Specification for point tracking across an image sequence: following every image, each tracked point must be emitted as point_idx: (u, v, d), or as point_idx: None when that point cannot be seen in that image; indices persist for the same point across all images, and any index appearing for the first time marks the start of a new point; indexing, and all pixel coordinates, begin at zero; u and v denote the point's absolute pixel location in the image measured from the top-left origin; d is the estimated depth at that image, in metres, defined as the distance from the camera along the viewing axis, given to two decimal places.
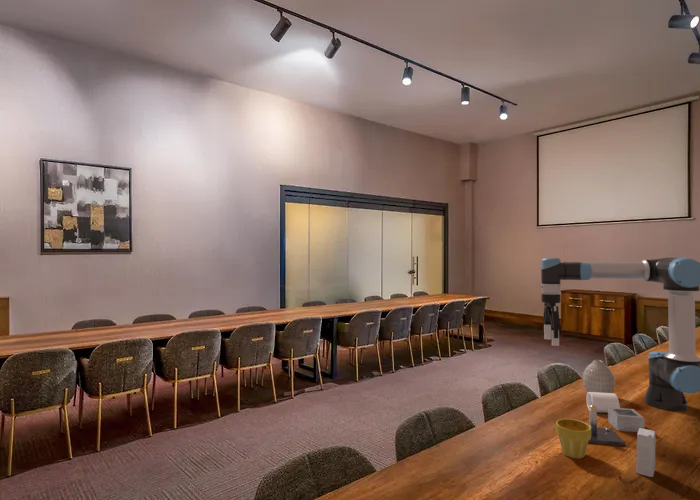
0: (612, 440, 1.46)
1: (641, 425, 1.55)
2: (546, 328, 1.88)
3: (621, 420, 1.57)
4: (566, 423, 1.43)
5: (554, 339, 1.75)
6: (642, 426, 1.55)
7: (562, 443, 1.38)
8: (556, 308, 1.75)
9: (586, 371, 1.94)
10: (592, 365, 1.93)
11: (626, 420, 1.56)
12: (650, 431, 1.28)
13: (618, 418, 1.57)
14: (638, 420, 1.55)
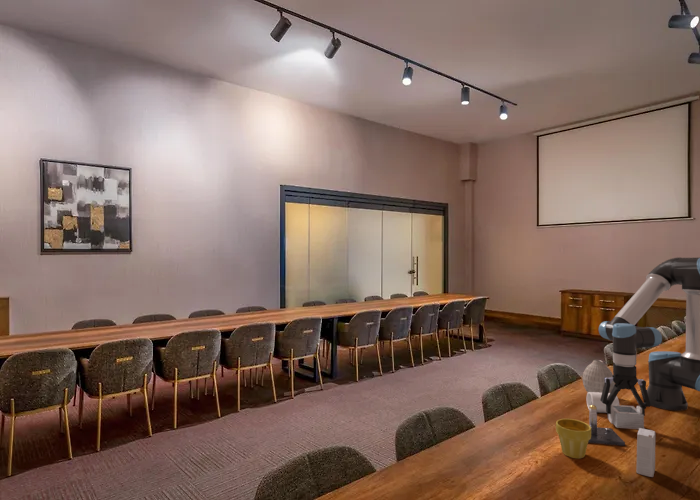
0: (612, 440, 1.46)
1: (641, 422, 1.55)
2: None
3: (621, 417, 1.57)
4: (566, 423, 1.43)
5: (609, 414, 1.62)
6: (642, 423, 1.55)
7: (562, 443, 1.38)
8: (605, 380, 1.61)
9: (586, 371, 1.94)
10: (592, 365, 1.93)
11: (626, 417, 1.56)
12: (650, 431, 1.28)
13: (618, 415, 1.57)
14: (638, 417, 1.55)
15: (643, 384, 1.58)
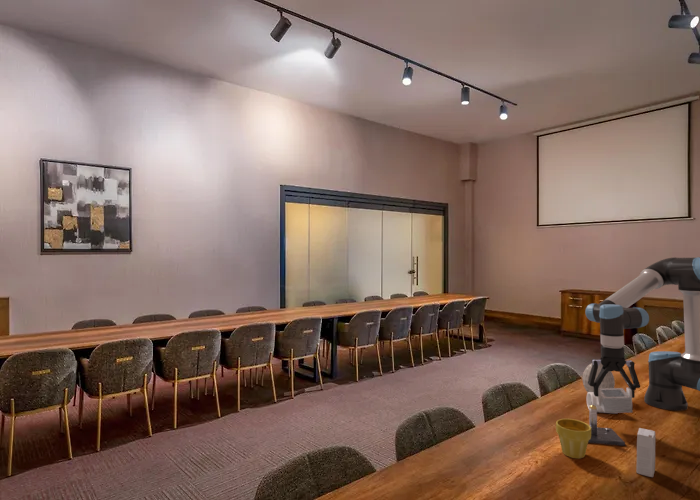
0: (612, 440, 1.46)
1: (629, 405, 1.52)
2: (627, 392, 1.57)
3: (608, 402, 1.54)
4: (566, 423, 1.43)
5: (597, 397, 1.59)
6: (630, 406, 1.52)
7: (562, 443, 1.38)
8: (593, 362, 1.58)
9: (586, 371, 1.94)
10: None
11: (613, 402, 1.53)
12: (650, 431, 1.28)
13: (604, 400, 1.54)
14: (625, 401, 1.52)
15: (631, 365, 1.55)
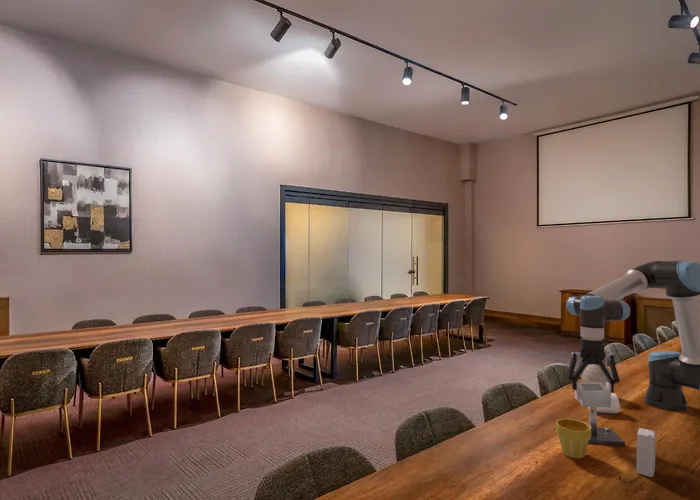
0: (612, 440, 1.46)
1: (607, 399, 1.47)
2: (606, 387, 1.52)
3: (586, 396, 1.49)
4: (566, 423, 1.43)
5: (575, 391, 1.54)
6: (608, 400, 1.47)
7: (562, 443, 1.38)
8: (572, 355, 1.53)
9: (586, 371, 1.94)
10: (592, 365, 1.93)
11: (591, 395, 1.48)
12: (650, 431, 1.28)
13: (582, 394, 1.49)
14: (603, 395, 1.47)
15: (611, 359, 1.50)
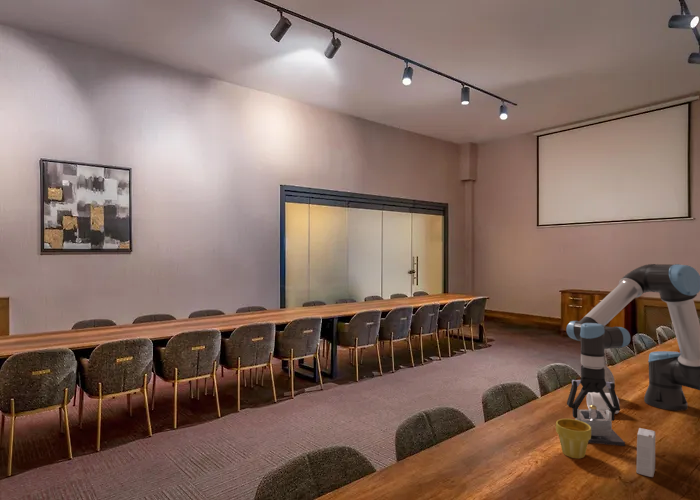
0: (612, 440, 1.46)
1: (608, 428, 1.47)
2: (607, 415, 1.51)
3: None
4: (566, 423, 1.43)
5: (576, 419, 1.54)
6: (609, 429, 1.47)
7: (562, 443, 1.38)
8: (572, 383, 1.53)
9: None
10: None
11: (591, 424, 1.48)
12: (650, 431, 1.28)
13: None
14: (604, 423, 1.47)
15: (612, 387, 1.50)
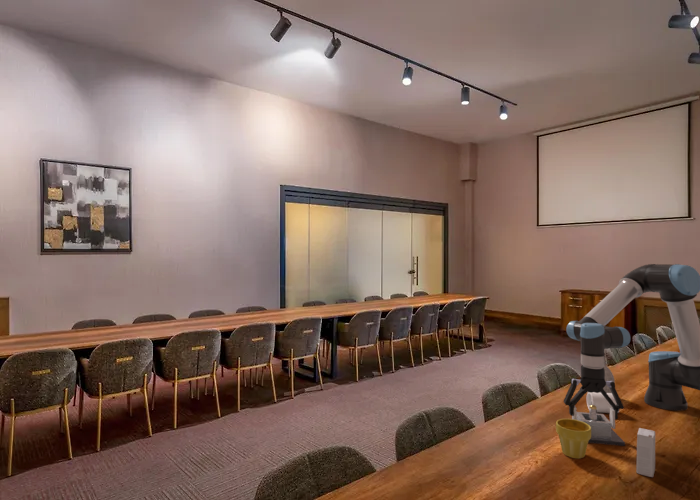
0: (612, 440, 1.46)
1: (608, 431, 1.47)
2: (610, 413, 1.51)
3: None
4: (566, 423, 1.43)
5: (572, 416, 1.54)
6: (609, 432, 1.47)
7: (562, 443, 1.38)
8: (572, 381, 1.53)
9: None
10: None
11: (592, 425, 1.49)
12: (650, 431, 1.28)
13: None
14: (605, 426, 1.47)
15: (612, 386, 1.50)
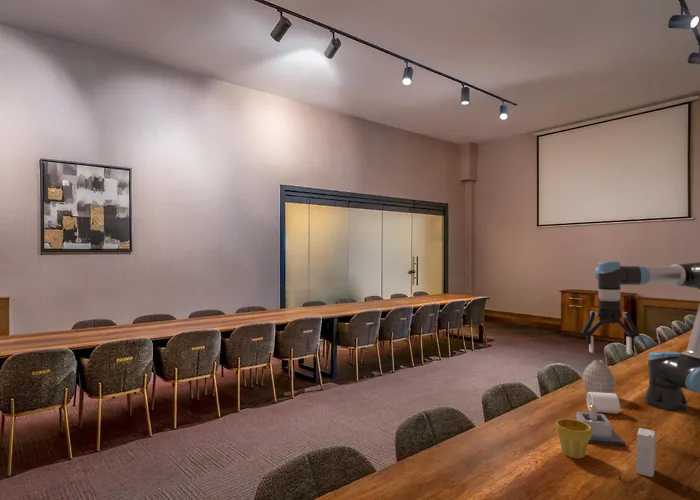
0: (612, 440, 1.46)
1: (608, 431, 1.47)
2: (627, 341, 1.66)
3: None
4: (566, 423, 1.43)
5: (589, 345, 1.69)
6: (609, 432, 1.47)
7: (562, 443, 1.38)
8: (591, 313, 1.68)
9: (586, 371, 1.94)
10: (592, 365, 1.93)
11: (592, 425, 1.49)
12: (650, 431, 1.28)
13: None
14: (605, 426, 1.47)
15: (627, 316, 1.65)
